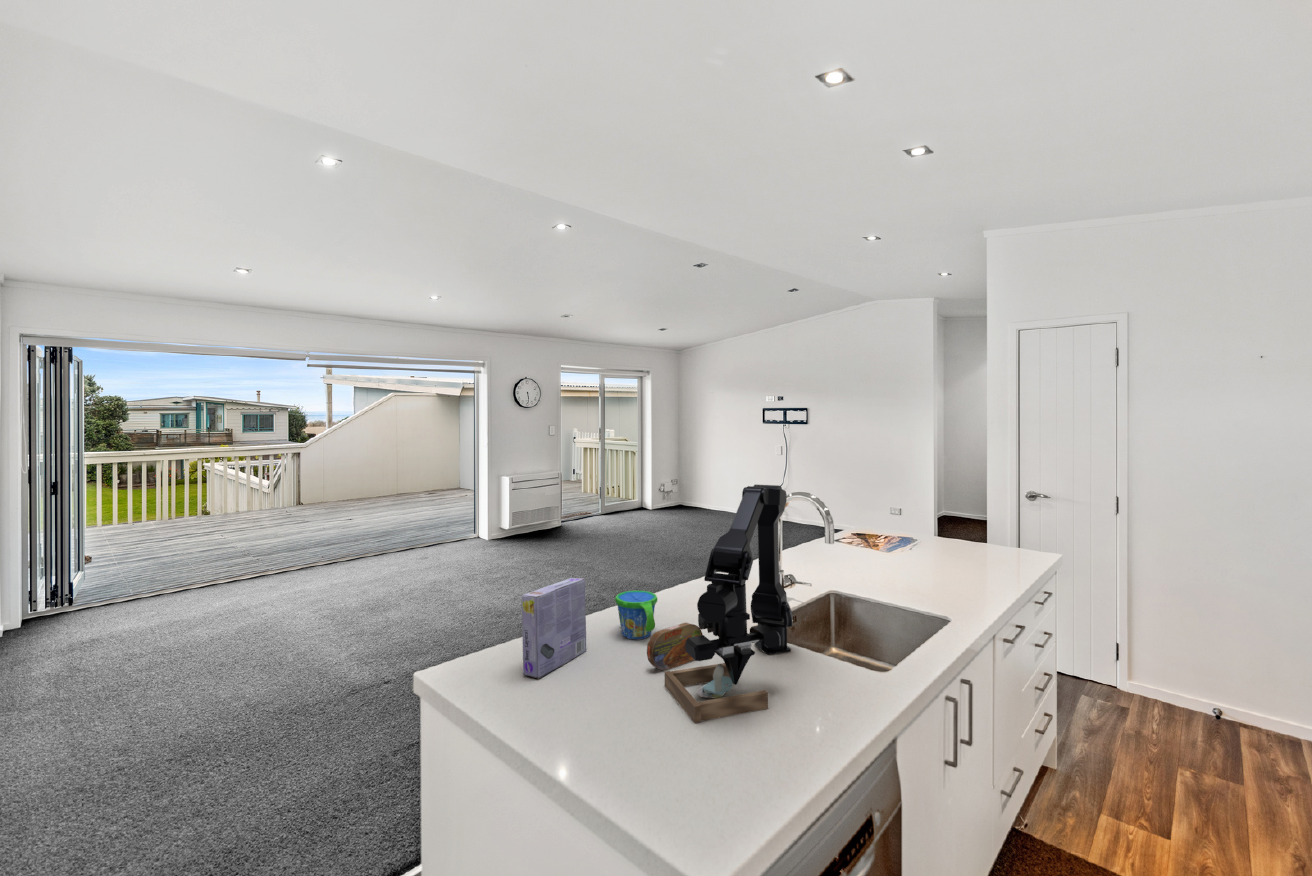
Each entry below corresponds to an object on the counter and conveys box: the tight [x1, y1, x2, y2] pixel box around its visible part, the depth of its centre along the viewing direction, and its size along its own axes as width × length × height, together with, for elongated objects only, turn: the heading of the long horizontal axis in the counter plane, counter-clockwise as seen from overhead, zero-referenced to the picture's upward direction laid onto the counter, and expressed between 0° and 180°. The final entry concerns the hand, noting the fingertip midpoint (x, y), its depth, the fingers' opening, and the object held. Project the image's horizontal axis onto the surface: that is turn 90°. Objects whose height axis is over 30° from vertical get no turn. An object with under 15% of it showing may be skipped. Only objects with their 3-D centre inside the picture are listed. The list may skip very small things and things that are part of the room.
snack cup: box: [614, 590, 658, 640], centre depth 150 cm, size 16×10×10 cm
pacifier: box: [697, 663, 734, 699], centre depth 116 cm, size 7×6×6 cm
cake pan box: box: [521, 577, 587, 679], centre depth 133 cm, size 19×5×18 cm, turn 152°
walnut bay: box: [663, 662, 769, 724], centre depth 115 cm, size 15×16×3 cm
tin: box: [646, 622, 704, 671], centre depth 132 cm, size 15×3×8 cm, turn 128°
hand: (734, 684), depth 116 cm, fingers closed, pressing on pacifier
